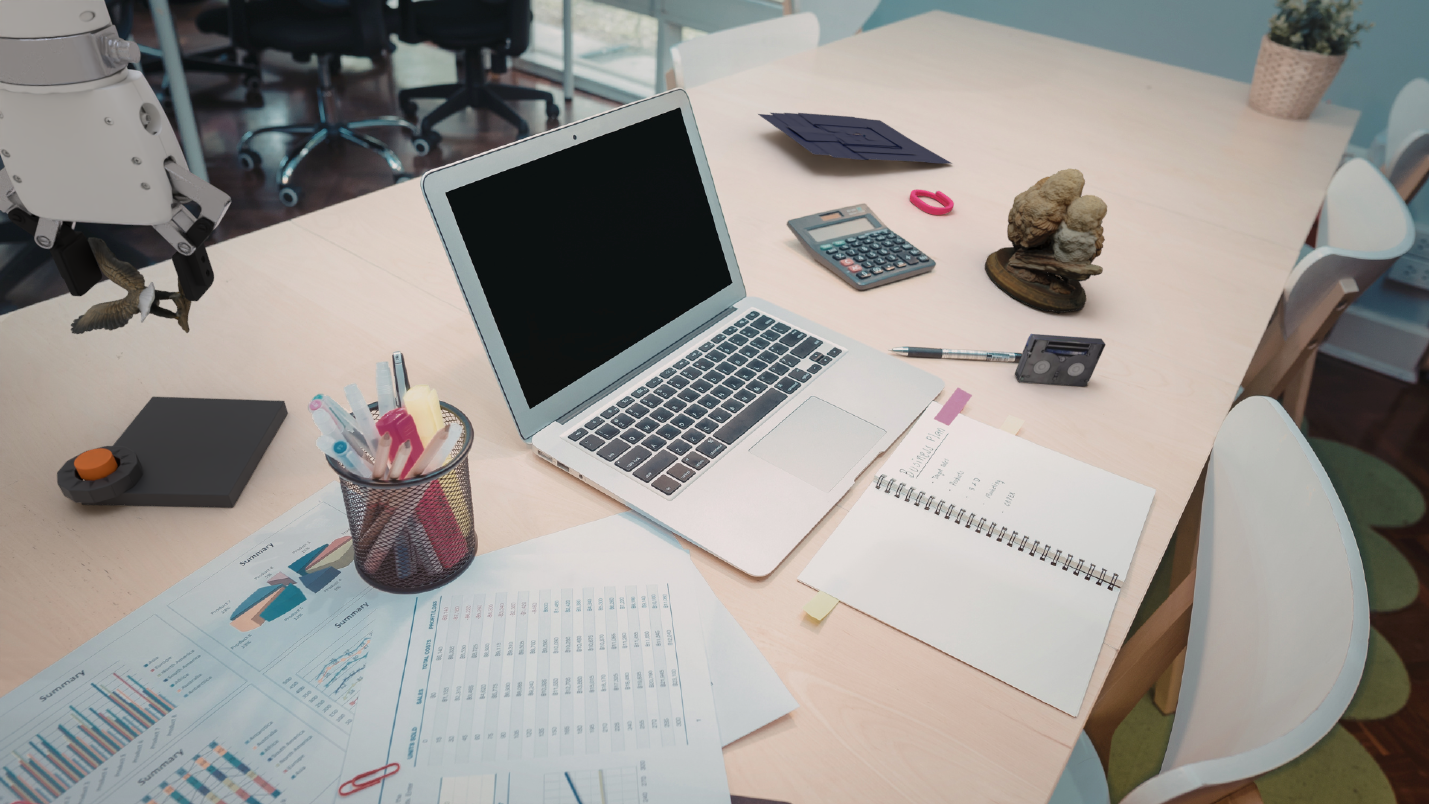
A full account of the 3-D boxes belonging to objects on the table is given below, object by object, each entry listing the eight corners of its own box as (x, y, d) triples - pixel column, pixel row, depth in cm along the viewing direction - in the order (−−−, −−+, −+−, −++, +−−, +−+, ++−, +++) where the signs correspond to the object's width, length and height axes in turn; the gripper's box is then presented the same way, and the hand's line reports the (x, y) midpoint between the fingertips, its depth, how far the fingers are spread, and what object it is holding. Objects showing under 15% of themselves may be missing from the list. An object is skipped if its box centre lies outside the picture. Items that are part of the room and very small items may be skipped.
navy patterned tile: (749, 125, 154) (753, 105, 152) (875, 133, 167) (880, 115, 165) (814, 174, 137) (820, 153, 135) (948, 178, 150) (955, 159, 148)
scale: (57, 516, 66) (41, 489, 65) (143, 408, 78) (133, 383, 76) (227, 519, 68) (217, 493, 66) (288, 413, 79) (281, 388, 77)
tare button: (73, 481, 66) (66, 468, 65) (91, 459, 68) (84, 447, 67) (107, 481, 66) (101, 469, 66) (123, 460, 68) (118, 448, 68)
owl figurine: (1111, 315, 109) (1165, 195, 99) (1040, 324, 106) (1087, 200, 95) (1030, 253, 122) (1070, 142, 112) (964, 259, 119) (999, 145, 109)
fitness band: (959, 214, 132) (962, 205, 131) (930, 217, 130) (932, 208, 129) (931, 194, 138) (933, 185, 137) (902, 196, 136) (904, 188, 135)
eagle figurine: (221, 285, 69) (103, 258, 67) (194, 243, 62) (63, 212, 60) (187, 367, 66) (64, 341, 64) (155, 332, 59) (17, 302, 58)
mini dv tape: (1081, 379, 96) (1100, 336, 92) (1086, 386, 95) (1105, 344, 91) (1014, 374, 96) (1030, 331, 92) (1018, 382, 94) (1034, 338, 91)
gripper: (218, 48, 57) (278, 272, 67) (-53, 29, 55) (53, 262, 66) (167, 80, 51) (242, 320, 61) (-138, 60, 49) (-6, 310, 60)
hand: (144, 288), depth 63 cm, fingers closed on eagle figurine, 7 cm apart
